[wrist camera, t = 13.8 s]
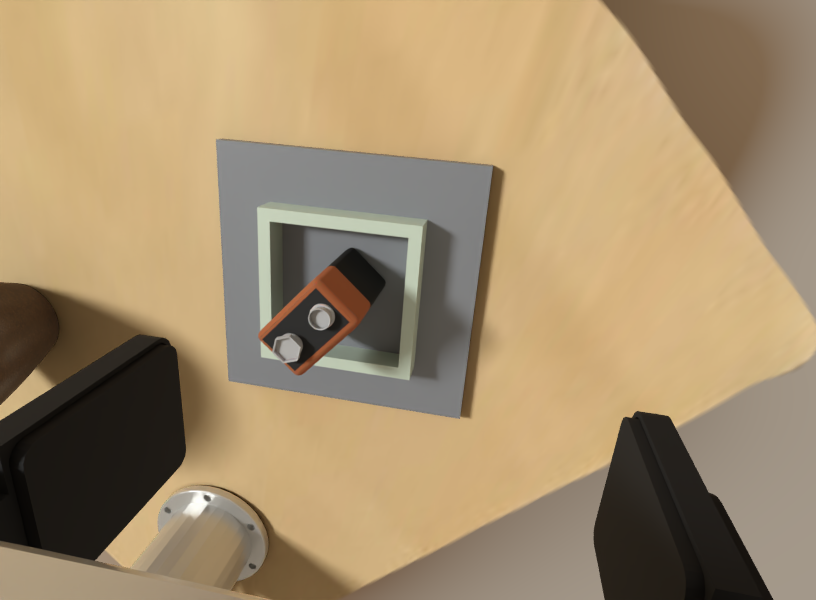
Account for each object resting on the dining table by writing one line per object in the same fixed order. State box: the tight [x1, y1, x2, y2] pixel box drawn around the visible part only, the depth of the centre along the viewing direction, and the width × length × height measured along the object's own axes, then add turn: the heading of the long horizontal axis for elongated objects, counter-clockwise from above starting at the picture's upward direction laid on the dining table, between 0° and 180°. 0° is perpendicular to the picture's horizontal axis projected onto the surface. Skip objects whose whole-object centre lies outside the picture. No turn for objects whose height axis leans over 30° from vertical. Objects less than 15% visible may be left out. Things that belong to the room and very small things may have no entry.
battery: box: [258, 248, 386, 375], centre depth 40 cm, size 4×7×10 cm, turn 134°
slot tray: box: [216, 139, 493, 419], centre depth 44 cm, size 22×22×4 cm
